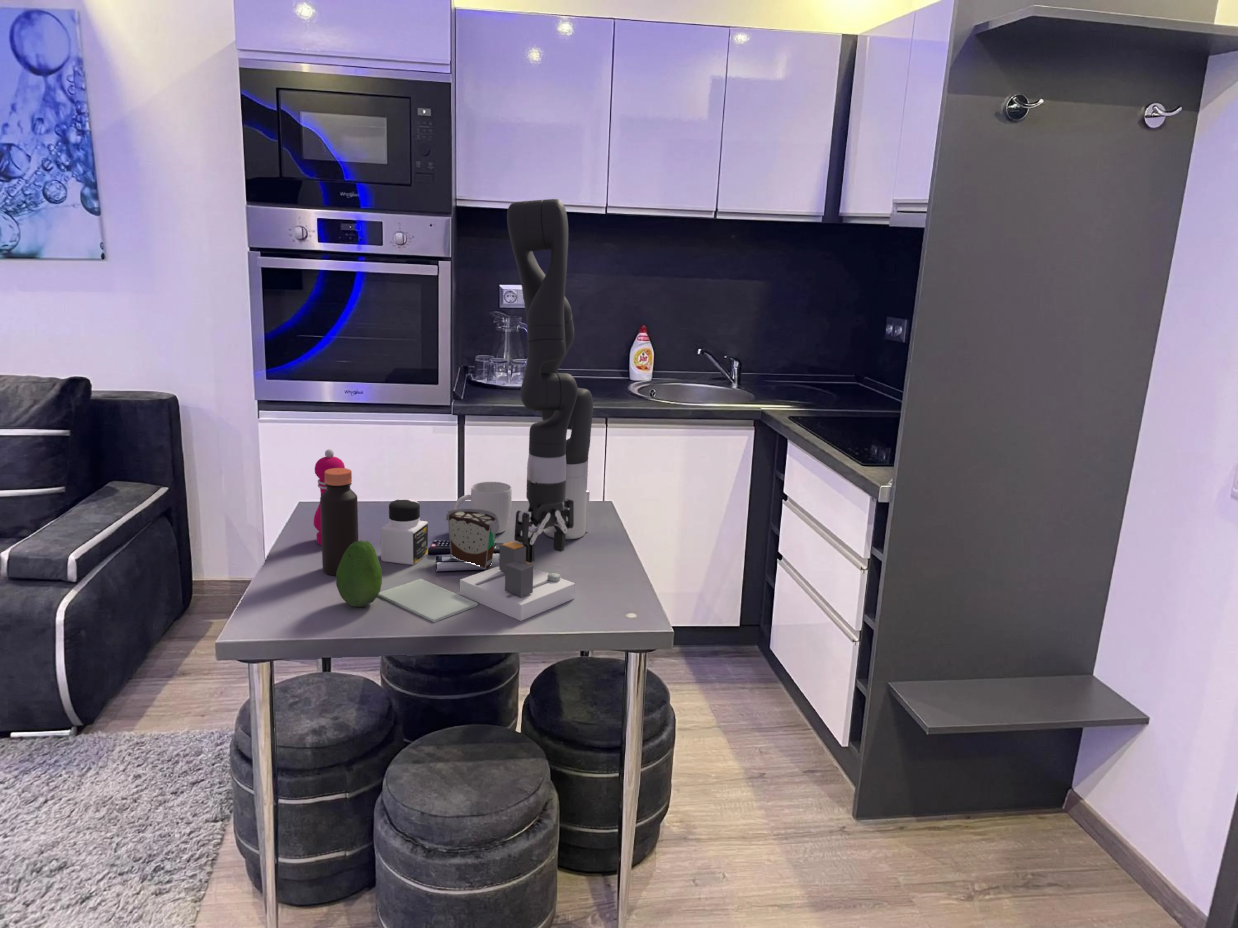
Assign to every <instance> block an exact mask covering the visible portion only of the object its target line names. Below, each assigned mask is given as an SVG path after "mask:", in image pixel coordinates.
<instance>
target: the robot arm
mask: <svg viewBox="0 0 1238 928" xmlns="http://www.w3.org/2000/svg"><path fill="white" fill-rule="evenodd" d="M506 222H507V223H506V224H507V230H508V231H507V232H508V235H509V240H510V244H511V248H512V252H513V256H514V260H515V264H516V267H517V272H518V275H519V280H520V285H521V290H522V296H523V297H522V299H523V304H524V311H525V317H526V325H527V326H526V329H527V348H528V349H527V360H526V366H525V370H524V375H523V379H522V383H521V385H520V386H521V387H520V399H521V402H522V404H523V406H524V407H525V408H526V409H527V410H528V411H531V412H540V416H541V419H542V420H541V421H538V422H534V423H532V424H531V426H530V428H529V435H528V436H529V437H528V458H527V466H526V493H525V494H526V495H525V496H526V499H527V502H528V505H529V506H528V509H527V510H526V511H525V510H524V511H521V510H517V511H516V512H515V524H514V542H515V541H516V542H517V543H518V542H519V543H520V544H522V545H524V546H526V562H528V563H530V564H531V563H533V562H535V551H536V549H535V547H536V544H535V542H536V540H537V537H538V536H539V535H541V534H542V532H543V533H544V535H546V536H547V537H549V538H552V539H553V550H555V551H557V552H559V553H561V552H564V551H565V547H566V540H574V539H575V540H576V539H579V538H582V537H584V536H585V535H586V533H587V532H589V512H590V496H591V495H590V493H591V492H590V491H589V490H588V475H589V473H588V472H589V470H588V468H589V453H590V446H591V433H592V424H593V415H594V414H593V413H594V400H593V395H592V393H591V391H590V390H589V389H587V388H581V387H578V384H577V381H576V379H575V377H574V376H572V374H569V373H568V372H567V373H565V372H559V371H558V370H559V369H560V366H561V364H562V362H563V361H564V359H565V357H566V355H567V354H568V353H569V351H570V348H571V346H572V344H573V342H574V339H575V325H574V320H573V311H572V307H571V305H570V303H569V302H570V301H569V300H568V299H567V296H566V295H565V294H566V283H567V270H568V255H569V254H568V253H569V252H568V251H569V220H568V214H567V209H566V207H565V205H564V203H563V201H562V200H561V199H558V198H549V199H536V200H522V201H515V202H512V203H511V204H510V205H509V206H508V208H507V211H506ZM541 251H550V257H549V258H550V259H549V264H548V269H547V271H546V273H544V271H543V270H542V268H541V267H540V266H539V263H538V261H537V259H536V257H535V255H534V252H541ZM568 430H570V436H569V438H568V439H567V433H568ZM533 526H534V527H533ZM543 530H544V531H543Z"/></svg>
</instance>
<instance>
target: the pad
mask: <svg viewBox="0 0 1238 928" xmlns="http://www.w3.org/2000/svg"><path fill="white" fill-rule="evenodd" d="M377 597H379V598H381V599H384V600H385V601H388V602H390V603H392V604H394V605H396V606H399V607H401V608H403V609H405V610H406V611H409V612H411V613H413V614H415V615H417V616H419V617H422V618H424V619H426V620H428V621H430V622H432V623H437V622H439V621H442V620H445V619H447V618H450V617H452V616H454V615H457V614H458V615H459V614H460V613H463V612H465V611H467V610H471V609H473V608H476V607H478V605H479V603H478V602H476V601H473V600H471V599H469V598H467V597H464V596H462V595H460V594H457V593H455V592H453V591H450V590H448V589H445V588H444V587H441V586H439V585H437V584H434V583H432V582H430V581H427V580H425V579H423V578H419V579H415V580H413V581H410V582H407V583H404V584H401V585H397V586H395V587H391V588H389V589H386V590H383V591H380V592H379V594H378V596H377Z"/></svg>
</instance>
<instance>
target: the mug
mask: <svg viewBox="0 0 1238 928" xmlns="http://www.w3.org/2000/svg"><path fill="white" fill-rule="evenodd" d="M470 489H471V490H470V494H464V495H463V496H460V497H459V498H458V499H457V500H456V502H455V503H454V505H453V510H454V509H460V505H461V504H462V503H464V502H465V501H470V508H474V509H483V510H487V511H490V512H493V513H494V514H495V515H496V516H497V518H498V521H499V529H498V530H497V531H496V534H501V533H503V532H504V531H506V529H507V527H508V525H509V522H510V521H509V520H510V516H511V511H512V498H513V497H512V496H513V495H512V494H513V493H512V486H511V485H510V484H508V483H505V482H500V481H482V482H477V483H474V484H473V485H472V486H471V488H470ZM496 534H495V535H496Z"/></svg>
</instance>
